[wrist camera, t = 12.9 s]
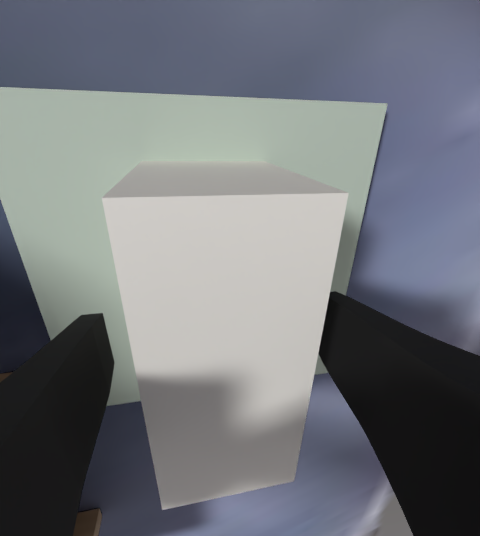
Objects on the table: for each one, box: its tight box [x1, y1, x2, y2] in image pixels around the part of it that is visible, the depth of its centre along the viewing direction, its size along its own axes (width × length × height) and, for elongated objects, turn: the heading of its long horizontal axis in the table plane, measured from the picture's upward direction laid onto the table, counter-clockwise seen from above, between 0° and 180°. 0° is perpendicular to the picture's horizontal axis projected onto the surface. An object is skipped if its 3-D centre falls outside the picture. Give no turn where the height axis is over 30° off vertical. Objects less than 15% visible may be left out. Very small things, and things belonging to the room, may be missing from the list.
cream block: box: [102, 161, 349, 510], centre depth 10 cm, size 4×10×6 cm, turn 179°
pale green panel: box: [0, 87, 387, 406], centre depth 13 cm, size 14×14×1 cm
